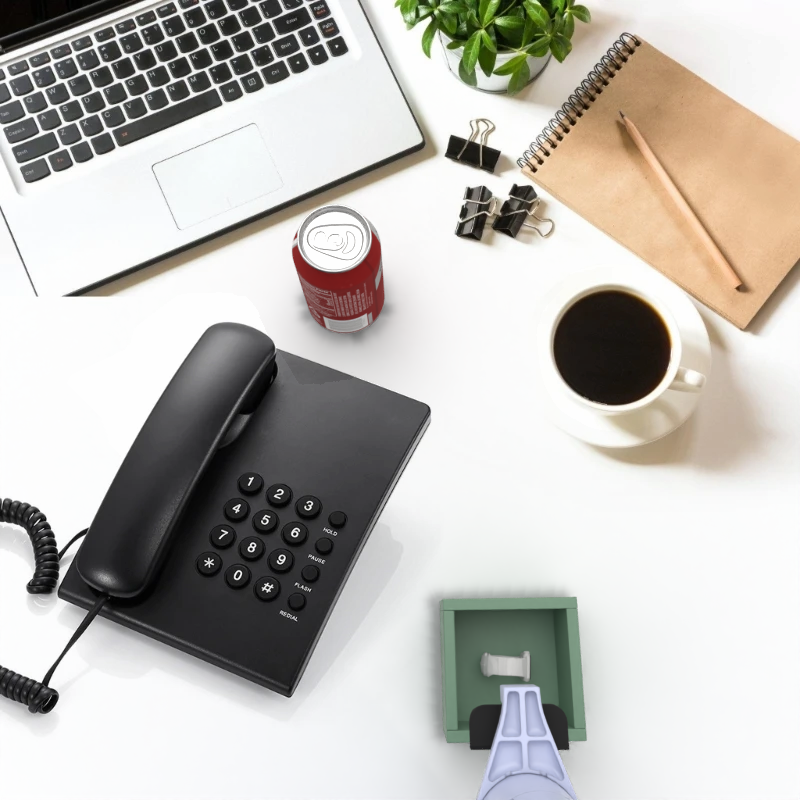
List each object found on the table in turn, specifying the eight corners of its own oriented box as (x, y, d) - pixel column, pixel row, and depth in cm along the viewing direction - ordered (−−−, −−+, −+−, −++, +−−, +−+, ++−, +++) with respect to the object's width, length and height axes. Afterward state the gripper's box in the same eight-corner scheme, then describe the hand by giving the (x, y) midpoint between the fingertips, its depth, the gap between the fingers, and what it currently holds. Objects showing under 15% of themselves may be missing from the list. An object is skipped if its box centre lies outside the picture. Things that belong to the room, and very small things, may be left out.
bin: (569, 729, 61) (587, 741, 55) (442, 731, 61) (446, 743, 55) (560, 599, 64) (576, 596, 57) (439, 600, 64) (442, 598, 58)
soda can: (378, 342, 69) (371, 286, 58) (301, 330, 70) (280, 272, 58) (390, 270, 71) (387, 202, 60) (315, 260, 72) (297, 190, 60)
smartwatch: (477, 676, 61) (482, 680, 57) (478, 646, 62) (483, 648, 58) (524, 679, 61) (533, 683, 57) (525, 649, 62) (533, 652, 58)
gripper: (641, 1034, 36) (579, 924, 49) (614, 692, 40) (563, 675, 53) (484, 1036, 36) (464, 925, 49) (472, 694, 40) (456, 676, 53)
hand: (508, 795), depth 51 cm, fingers open, 7 cm apart
